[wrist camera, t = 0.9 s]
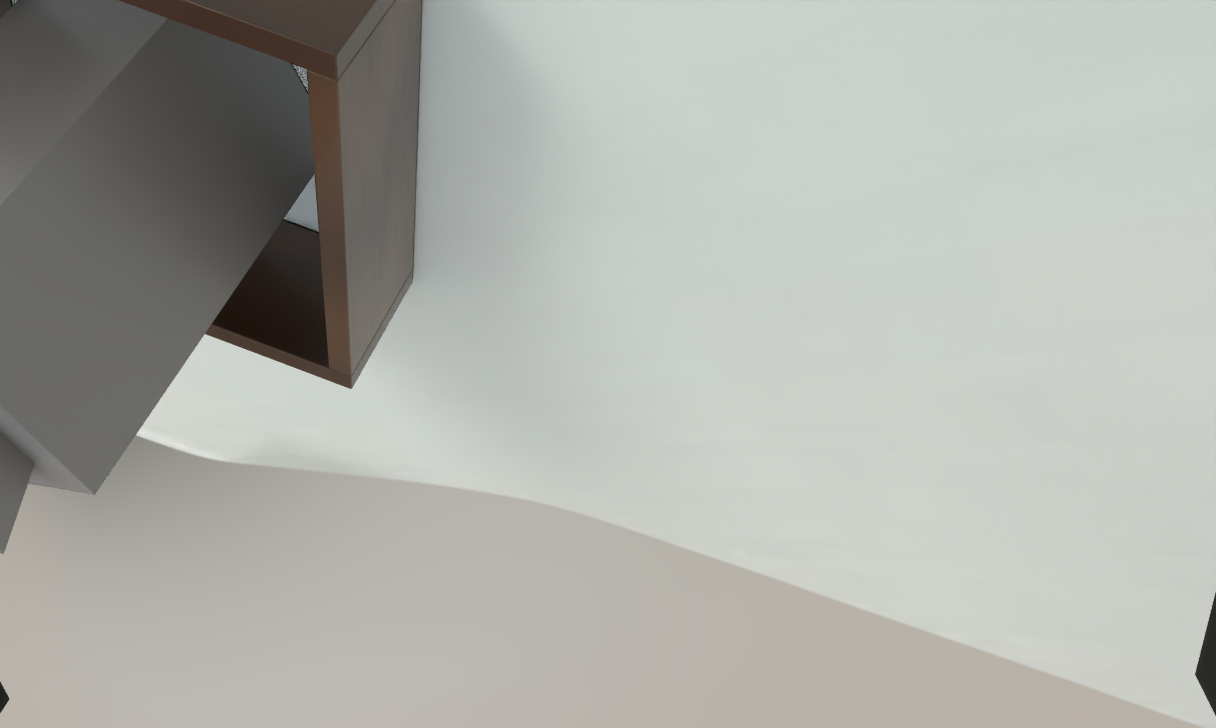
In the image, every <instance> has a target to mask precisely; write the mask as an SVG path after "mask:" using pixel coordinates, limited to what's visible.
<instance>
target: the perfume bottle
mask: <svg viewBox="0 0 1216 728" xmlns="http://www.w3.org/2000/svg"><path fill="white" fill-rule="evenodd" d="M314 173H315V172H314V159H313V145H312V132H311V119H310V105H309V95H308V93H307V92H306V90H305V88H304V86H303V85H302V83H301V81H300V79H299V77H298V76H297V74H296V72H295V70H294V69H293V67H292V65H291V63H289V62H286V61H283V60H281V59H278V58H275V57H272V56H270V55H267V54H264V53H261V52H259V51H256V50H253V49H251V48H248V47H245V46H242V45H240V44H237V43H234V42H231V41H229V40H226V39H223V38H220V37H218V36H215V35H212V34H209V33H207V32H204V31H201V30H198V29H196V28H193V27H190V26H187V25H185V24H182V23H179V22H176V21H174V20H171V19H168V18H166V17H163V16H160V15H157V14H155V13H152V12H149V11H146V10H144V9H141V8H138V7H135V6H133V5H130V4H127V3H124V2H122V1H119V0H18V1H17V2H16V3H15V4H14V5H13V6H12V7H11V8H10V9H9V10H8V11H7V12H6V13H5V14H4V15H3V16H2V17H1V18H0V553H2V554H4V551H5V548H6V545H7V543H8V540H9V537H10V534H11V531H12V528H13V525H14V522H15V520H16V517H17V514H18V511H19V508H20V505H21V502H22V499H23V496H24V493H25V490H26V488H27V485H28V484H34V485H41V486H46V487H52V488H58V489H64V490H70V491H76V492H82V493H88V494H94V495H95V494H96V492H97V491H98V489H99V488H100V486H101V485H102V483H103V482H104V480H105V479H106V477H107V476H108V475H109V473H110V472H111V470H112V468H113V467H114V466H115V464H116V463H117V461H118V460H119V458H120V457H121V455H122V454H123V452H124V451H125V450H126V448H127V447H128V445H129V444H130V442H131V441H132V439H133V438H134V436H135V435H136V434H137V432H138V431H139V429H140V428H141V426H142V425H143V423H144V422H145V420H146V419H147V417H148V416H149V415H150V413H151V412H152V410H153V409H154V407H155V406H156V404H157V403H158V401H159V400H160V398H161V397H162V396H163V394H164V393H165V391H166V390H167V388H168V387H169V385H170V384H171V382H172V381H173V379H174V378H175V377H176V375H177V374H178V372H179V371H180V369H181V368H182V366H183V365H184V363H185V362H186V360H187V359H188V357H189V356H190V355H191V353H192V352H193V350H194V349H195V347H196V346H197V344H198V343H199V341H200V340H201V338H202V337H203V336H204V334H205V333H206V331H207V330H208V328H209V327H210V325H211V324H212V322H213V321H214V319H215V318H216V317H217V315H218V314H219V312H220V311H221V309H222V308H223V306H224V305H225V303H226V302H227V300H228V299H229V298H230V296H231V295H232V293H233V292H234V290H235V289H236V287H237V286H238V284H239V283H240V281H241V280H242V279H243V277H244V276H245V274H246V273H247V271H248V270H249V268H250V267H251V265H252V264H253V262H254V261H255V259H256V258H257V257H258V255H259V254H260V252H261V251H262V249H263V248H264V246H265V245H266V243H267V242H268V240H269V239H270V238H271V236H272V235H273V233H274V232H275V230H276V229H277V227H278V226H279V224H280V223H281V221H282V220H283V219H284V217H285V216H286V214H287V213H288V211H289V210H290V208H291V207H292V205H293V204H294V202H295V201H296V200H297V198H298V197H299V195H300V194H301V192H302V191H303V189H304V188H305V186H306V185H307V183H308V182H309V181H310V179H311V178H312V176H313V175H314Z"/></svg>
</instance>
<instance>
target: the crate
mask: <svg viewBox="0 0 1216 728" xmlns="http://www.w3.org/2000/svg"><path fill="white" fill-rule="evenodd" d="M119 1H122V2H124V3H127V4H130V5H133V6H135V7H138V8H141V9H144V10H146V11H149V12H152V13H155V14H157V15H160V16H163V17H166V18H168V19H171V20H174V21H176V22H179V23H182V24H185V25H187V26H190V27H193V28H196V29H198V30H201V31H204V32H207V33H209V34H212V35H215V36H218V37H220V38H223V39H226V40H229V41H231V42H234V43H237V44H240V45H242V46H245V47H248V48H251V49H253V50H256V51H259V52H261V53H264V54H267V55H270V56H272V57H275V58H278V59H281V60H283V61H286V62H289V63H292V64H294V65H297V66H300V67H303V68H305V69H307V78H308V92H309V105H310V119H311V132H312V145H313V159H314V172H315V185H316V199H317V212H318V225H319V234H318V233H316V232H313V231H310V230H308V229H305V228H302V227H300V226H297V225H294V224H291V223H289V222H286V221H283V220H282V221H281V223H280V224H279V226H278V227H277V229H276V230H275V232H274V233H273V235H272V236H271V238H270V239H269V240H268V242H267V243H266V245H265V246H264V248H263V249H262V251H261V252H260V254H259V255H258V257H257V258H256V259H255V261H254V262H253V264H252V265H251V267H250V268H249V270H248V271H247V273H246V274H245V276H244V277H243V279H242V280H241V281H240V283H239V284H238V286H237V287H236V289H235V290H234V292H233V293H232V295H231V296H230V298H229V299H228V300H227V302H226V303H225V305H224V306H223V308H222V309H221V311H220V312H219V314H218V315H217V317H216V318H215V319H214V321H213V322H212V324H211V325H210V327H209V328H208V330H207V331H206V333H205V334H207V335H209V336H212V337H215V338H217V339H220V340H223V341H225V342H228V343H231V344H233V345H236V346H238V347H241V348H244V349H246V350H249V351H252V352H254V353H257V354H260V355H262V356H265V357H268V358H270V359H273V360H276V361H278V362H281V363H283V364H286V365H289V366H291V367H294V368H297V369H299V370H302V371H305V372H307V373H310V374H313V375H315V376H318V377H321V378H323V379H326V380H329V381H331V382H334V383H336V384H339V385H342V386H344V387H347V388H350V389H352V388H353V386H354V384H355V382H356V380H357V379H358V377H359V375H360V373H361V372H362V370H363V368H364V366H365V365H366V363H367V361H368V359H369V357H370V356H371V354H372V352H373V350H374V349H375V347H376V345H377V343H378V342H379V340H380V338H381V336H382V334H383V333H384V331H385V329H386V327H387V326H388V324H389V322H390V320H391V319H392V317H393V315H394V313H395V311H396V310H397V308H398V306H399V304H400V303H401V301H402V299H403V297H404V296H405V294H406V292H407V290H408V289H409V287H410V285H411V283H412V274H413V243H414V213H415V183H416V153H417V123H418V93H419V63H420V33H421V2H422V0H119ZM11 7H12V6H11V3H10V0H0V18H1V17H2V16H3V15H4V14H5V13H6V12H7V11H8V10H9V9H10V8H11Z"/></svg>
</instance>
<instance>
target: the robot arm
mask: <svg viewBox="0 0 1216 728" xmlns="http://www.w3.org/2000/svg"><path fill="white" fill-rule="evenodd" d="M1195 675H1196V677H1197V679H1198V681H1199V683H1200V685H1201V687H1202V689H1203V691H1204V693H1205V695H1206V697H1207V699H1208V701H1209V703H1210V705H1211V707H1212V709H1213V711H1214V713H1215V715H1216V593H1215V597H1214V601H1213V605H1212V609H1211V613H1210V617H1209V621H1208V625H1207V629H1206V633H1205V637H1204V641H1203V645H1202V649H1201V653H1200V657H1199V661H1198V665H1197V669H1196V673H1195ZM8 701H9V697H8V695H7V693H6V692H5V690H4V688H3V686H2V684H1V682H0V713H1V711H2V710H3V708H4V707H5V705H6V704H7V702H8Z"/></svg>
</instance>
